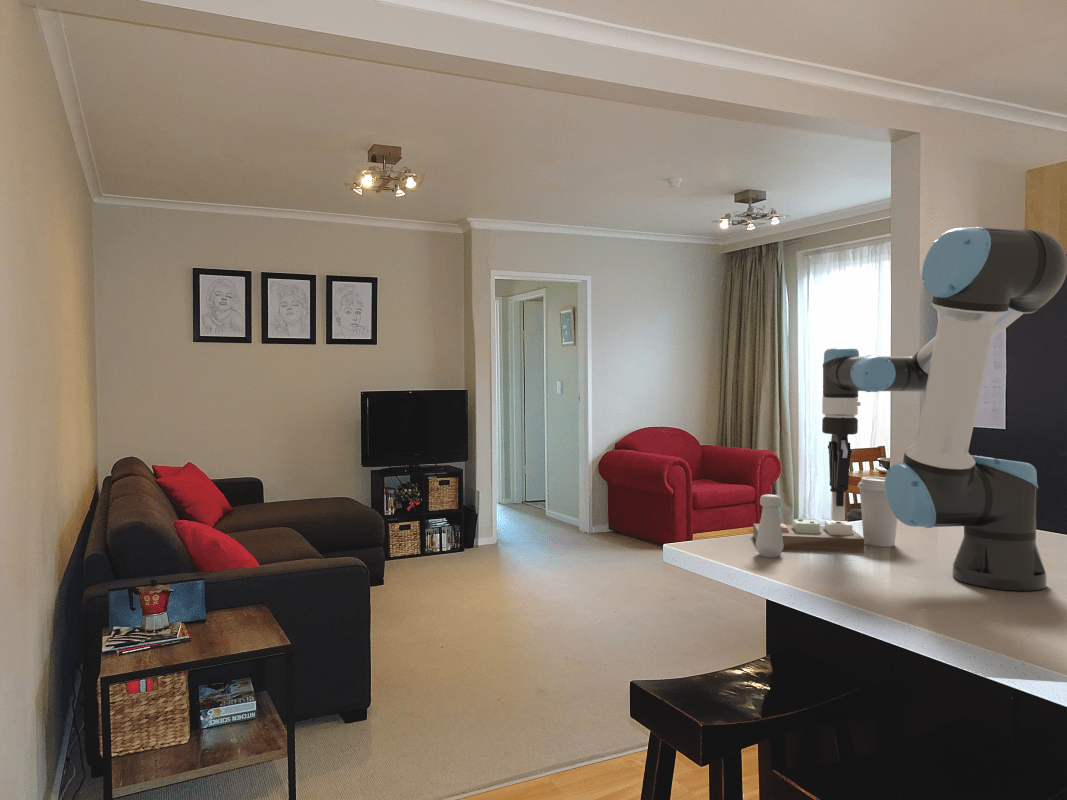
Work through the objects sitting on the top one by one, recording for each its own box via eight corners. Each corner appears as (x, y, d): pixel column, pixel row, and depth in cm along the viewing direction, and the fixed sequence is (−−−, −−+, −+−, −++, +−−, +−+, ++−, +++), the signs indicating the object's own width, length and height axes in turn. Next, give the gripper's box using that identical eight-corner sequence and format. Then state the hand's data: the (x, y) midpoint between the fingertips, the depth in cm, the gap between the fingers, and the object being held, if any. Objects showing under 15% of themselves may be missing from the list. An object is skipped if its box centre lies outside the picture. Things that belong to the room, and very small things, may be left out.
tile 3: (787, 538, 178) (787, 526, 178) (764, 537, 179) (764, 525, 179) (784, 533, 183) (784, 522, 183) (761, 533, 184) (762, 522, 184)
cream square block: (852, 535, 176) (852, 524, 176) (828, 535, 177) (829, 523, 176) (847, 531, 181) (847, 520, 181) (824, 530, 181) (824, 519, 181)
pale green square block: (819, 534, 177) (819, 523, 177) (796, 533, 178) (796, 522, 178) (815, 530, 182) (815, 519, 182) (793, 529, 183) (793, 518, 183)
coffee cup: (909, 548, 175) (910, 481, 175) (866, 548, 176) (867, 481, 175) (890, 539, 185) (892, 476, 185) (850, 539, 185) (851, 476, 185)
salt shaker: (752, 556, 167) (753, 495, 166) (758, 551, 172) (759, 492, 171) (780, 559, 164) (781, 497, 163) (786, 554, 169) (786, 494, 169)
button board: (864, 552, 171) (864, 538, 171) (759, 548, 175) (759, 534, 175) (849, 539, 185) (849, 527, 185) (753, 536, 189) (753, 523, 189)
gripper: (864, 418, 171) (862, 525, 172) (850, 415, 184) (849, 515, 184) (828, 417, 172) (826, 524, 173) (817, 414, 185) (815, 514, 186)
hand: (838, 519), depth 179 cm, fingers closed
